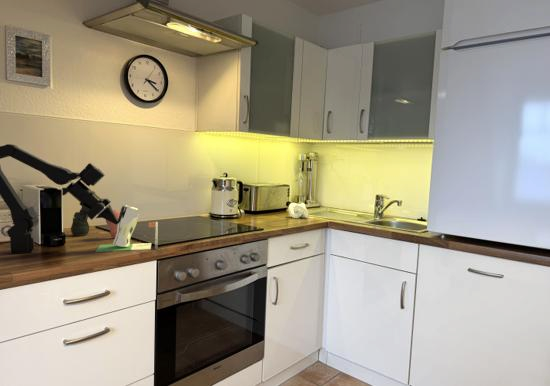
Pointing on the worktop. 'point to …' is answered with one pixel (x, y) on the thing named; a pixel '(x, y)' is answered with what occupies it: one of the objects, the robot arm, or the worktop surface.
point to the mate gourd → (79, 228)
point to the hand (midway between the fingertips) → (117, 223)
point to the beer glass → (126, 225)
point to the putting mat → (132, 246)
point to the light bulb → (113, 226)
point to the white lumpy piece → (297, 210)
